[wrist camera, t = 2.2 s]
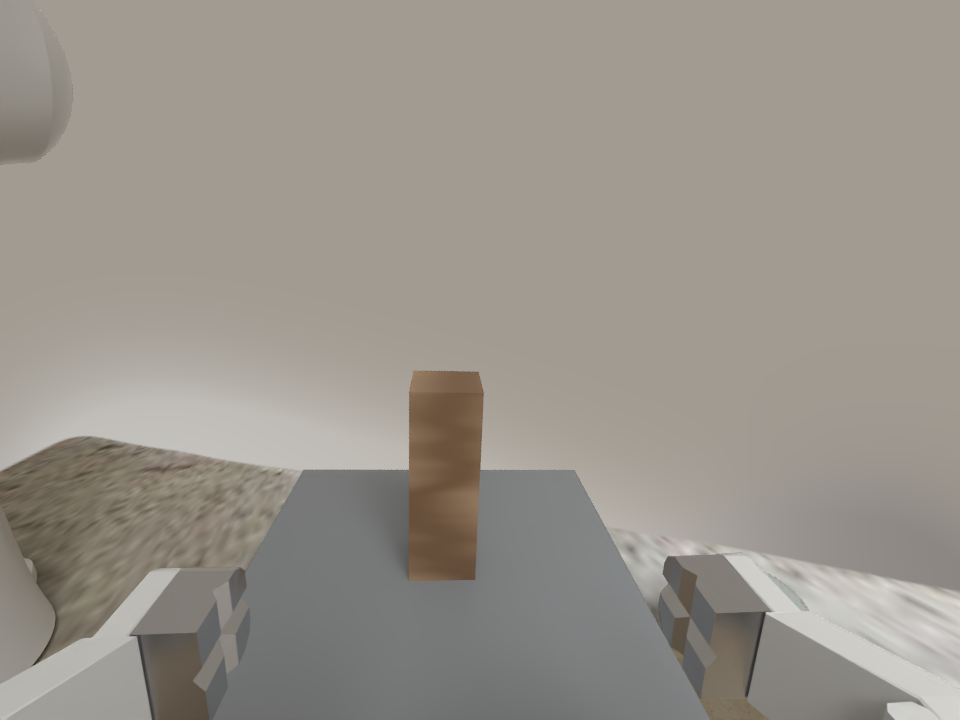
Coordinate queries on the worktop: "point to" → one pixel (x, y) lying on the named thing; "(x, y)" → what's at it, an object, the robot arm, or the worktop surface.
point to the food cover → (448, 593)
